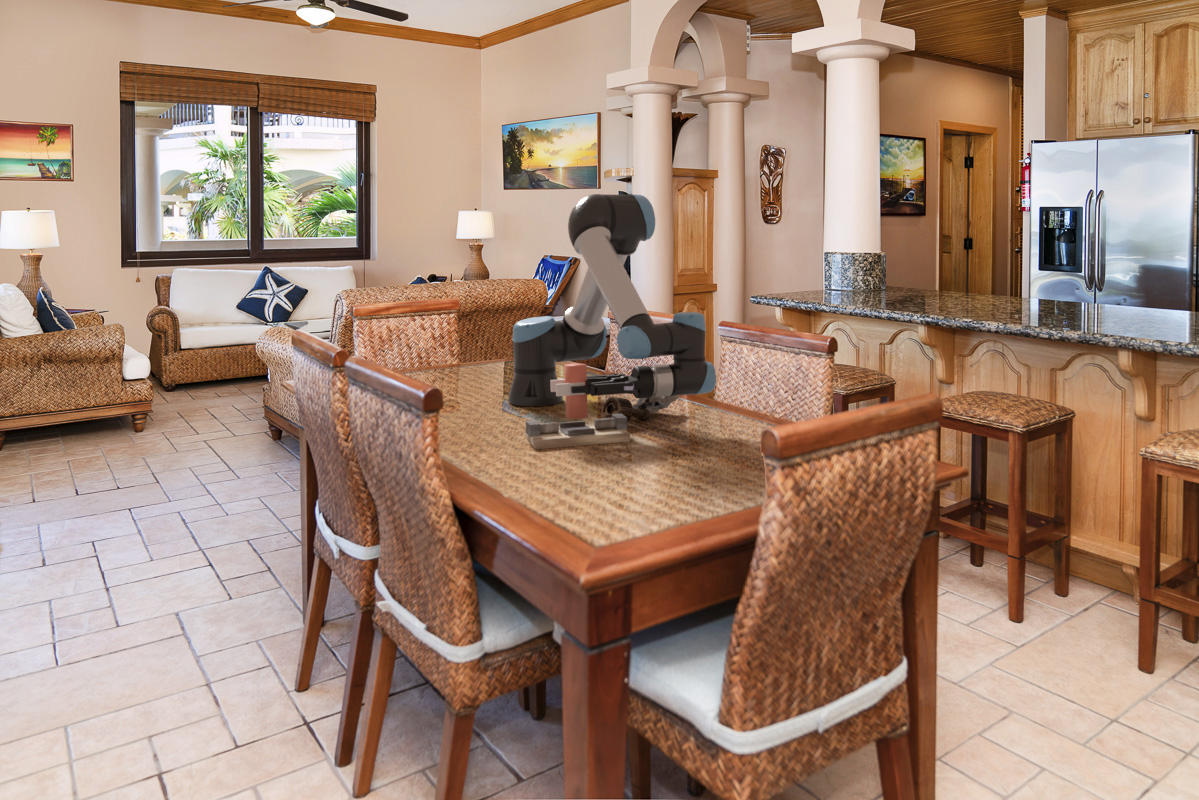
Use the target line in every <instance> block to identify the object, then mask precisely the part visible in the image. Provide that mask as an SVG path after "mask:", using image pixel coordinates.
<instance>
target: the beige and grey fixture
mask: <svg viewBox="0 0 1199 800" xmlns="http://www.w3.org/2000/svg"><path fill="white" fill-rule="evenodd" d="M524 431H525V434H524V435H525V436H524V437H525V439H526V440H527V441H528V442H529V443H530V445H531V446H532V447H533V448H534V449H535V450H542V449H543V450H544V449H555V448H565V447H566V448H567V447H578V446H579V447H581V446H590V445H591V446H593V445H602V444H603V445H604V444H615V443H627V442H631V432H629V431H628V422H627V417H626V416H624V415H623V414H612V418H605V419H603V418H596V419H594V423H588V424H587V423H586V420H576V421H566V422H558V421H556V422H555V421H553V422H539V421H538V420H537V419H534V420H533V419H532V420H525V428H524Z"/></svg>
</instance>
